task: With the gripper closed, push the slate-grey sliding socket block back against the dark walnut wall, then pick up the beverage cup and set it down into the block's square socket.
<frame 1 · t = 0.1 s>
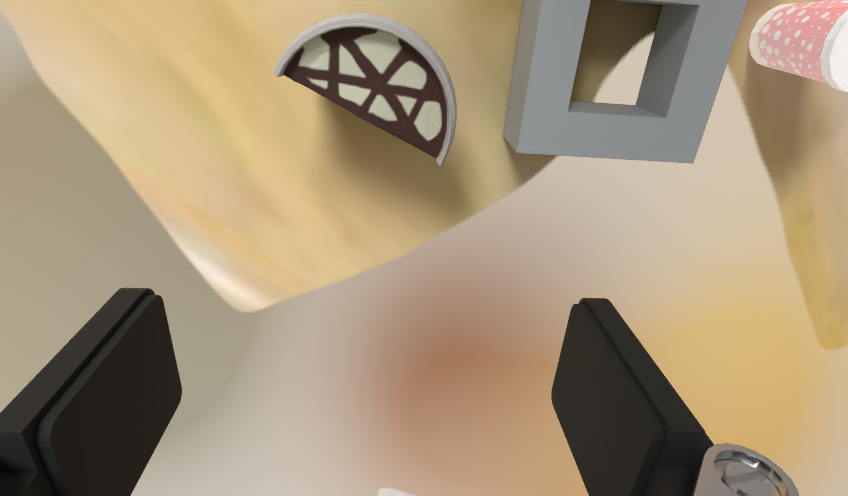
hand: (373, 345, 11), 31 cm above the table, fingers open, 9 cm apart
socket block: (616, 56, 36), point 3 cm above the table, slide at 5.0 cm
beverage cup: (776, 35, 39), on the table
food container: (387, 60, 38), on the table
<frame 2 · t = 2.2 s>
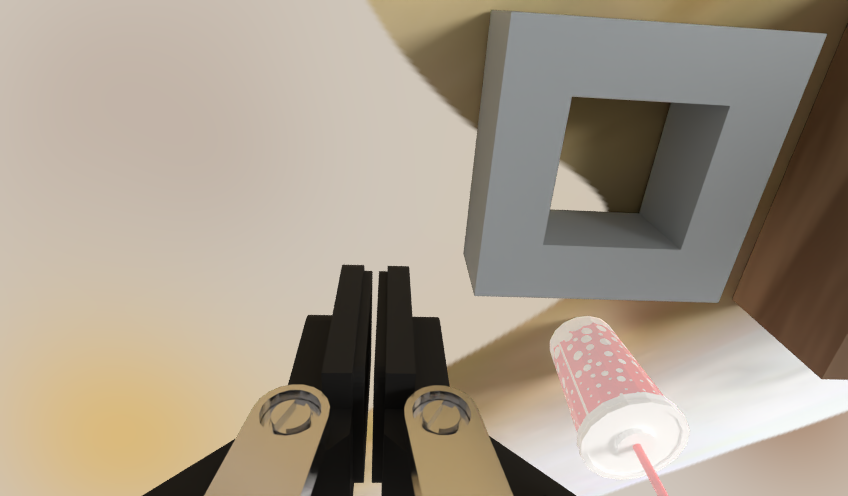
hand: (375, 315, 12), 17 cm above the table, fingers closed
socket block: (611, 164, 26), point 3 cm above the table, slide at 5.0 cm
beverage cup: (579, 340, 35), on the table
walnut wall: (805, 161, 29), on the table
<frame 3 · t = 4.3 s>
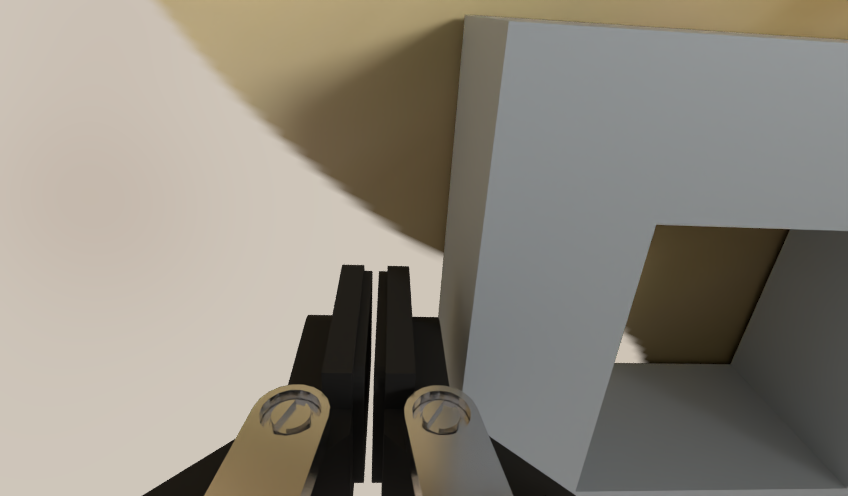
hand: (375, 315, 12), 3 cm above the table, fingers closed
socket block: (705, 316, 13), point 3 cm above the table, slide at 3.8 cm, touching gripper
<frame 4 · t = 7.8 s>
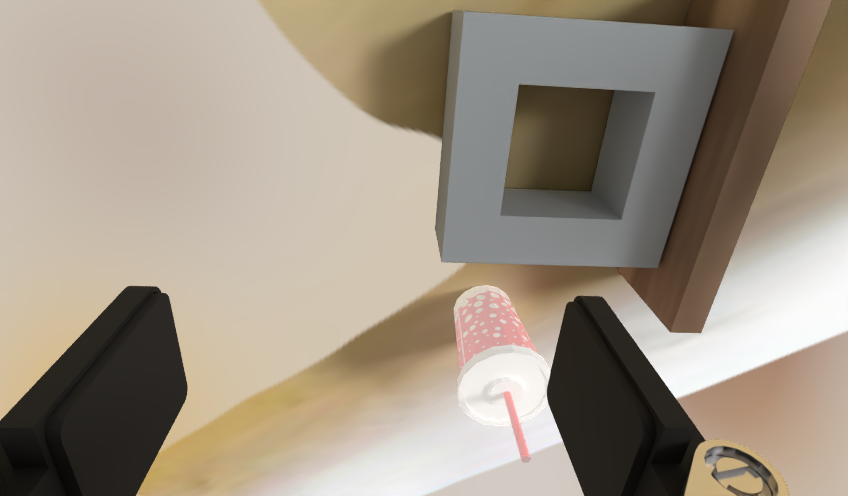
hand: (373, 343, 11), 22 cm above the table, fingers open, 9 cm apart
socket block: (560, 145, 29), point 3 cm above the table, slide at 0.0 cm
beverage cup: (481, 308, 38), on the table
walnut wall: (666, 140, 33), on the table
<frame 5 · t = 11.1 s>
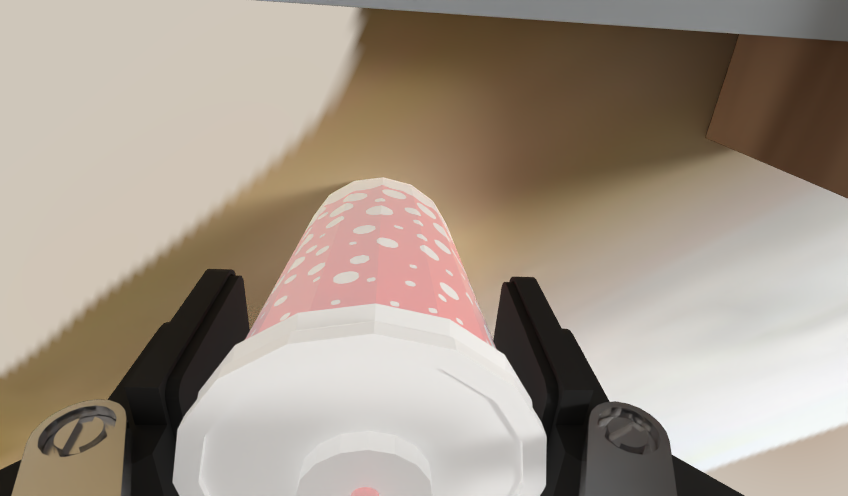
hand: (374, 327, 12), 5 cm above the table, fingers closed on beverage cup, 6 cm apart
beverage cup: (379, 241, 16), on the table, touching gripper
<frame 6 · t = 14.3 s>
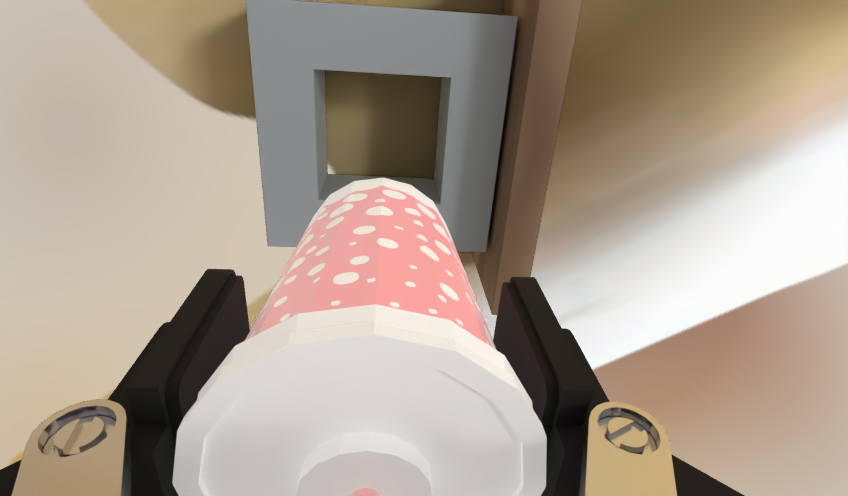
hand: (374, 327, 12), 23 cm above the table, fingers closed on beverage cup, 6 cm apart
socket block: (382, 131, 30), point 3 cm above the table, slide at 0.0 cm
beverage cup: (379, 241, 16), point 18 cm above the table, touching gripper
walnut wall: (502, 128, 33), on the table
when the fingers open (7 cm above the table, at t = 17.8 s): beverage cup drops 2 cm, resting in socket block.
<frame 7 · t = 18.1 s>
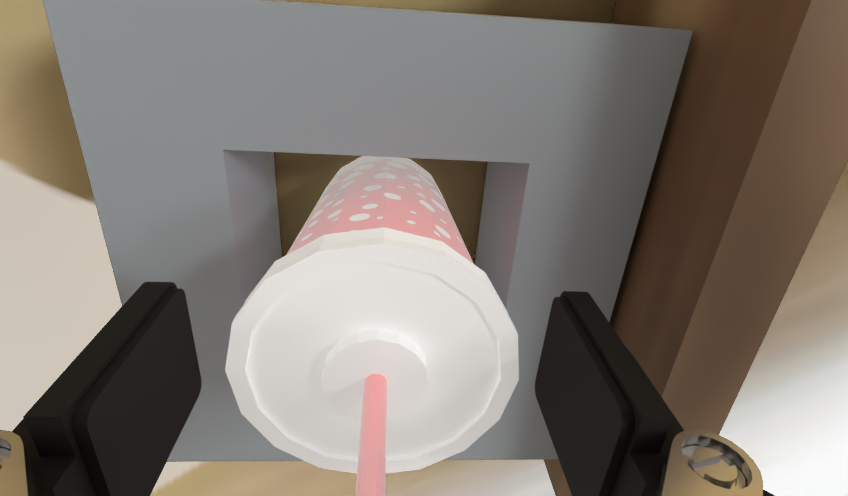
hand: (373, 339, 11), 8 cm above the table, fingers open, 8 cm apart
socket block: (379, 247, 16), point 3 cm above the table, slide at 0.0 cm
beverage cup: (383, 210, 18), resting in socket block
walnut wall: (593, 222, 19), on the table
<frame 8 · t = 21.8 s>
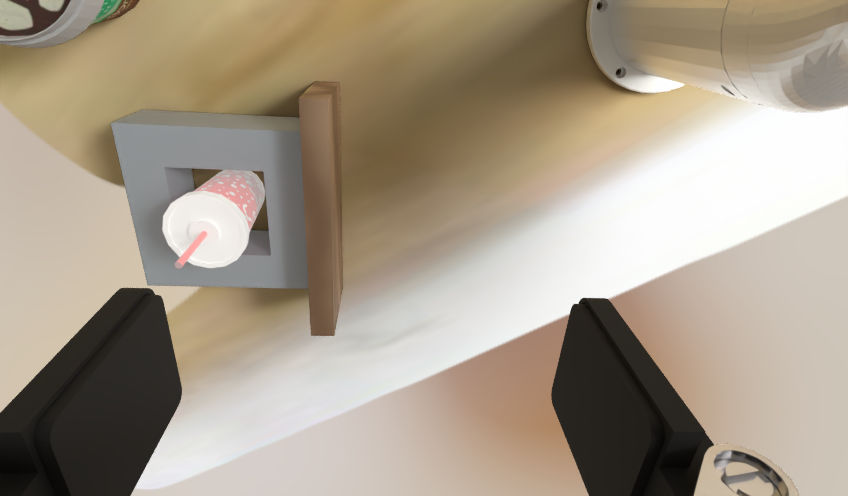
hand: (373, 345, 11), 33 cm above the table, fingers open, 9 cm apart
socket block: (229, 202, 41), point 3 cm above the table, slide at 0.0 cm
beverage cup: (240, 189, 44), resting in socket block
walnut wall: (330, 195, 44), on the table
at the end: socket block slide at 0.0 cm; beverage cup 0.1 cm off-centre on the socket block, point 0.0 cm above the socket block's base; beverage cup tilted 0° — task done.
